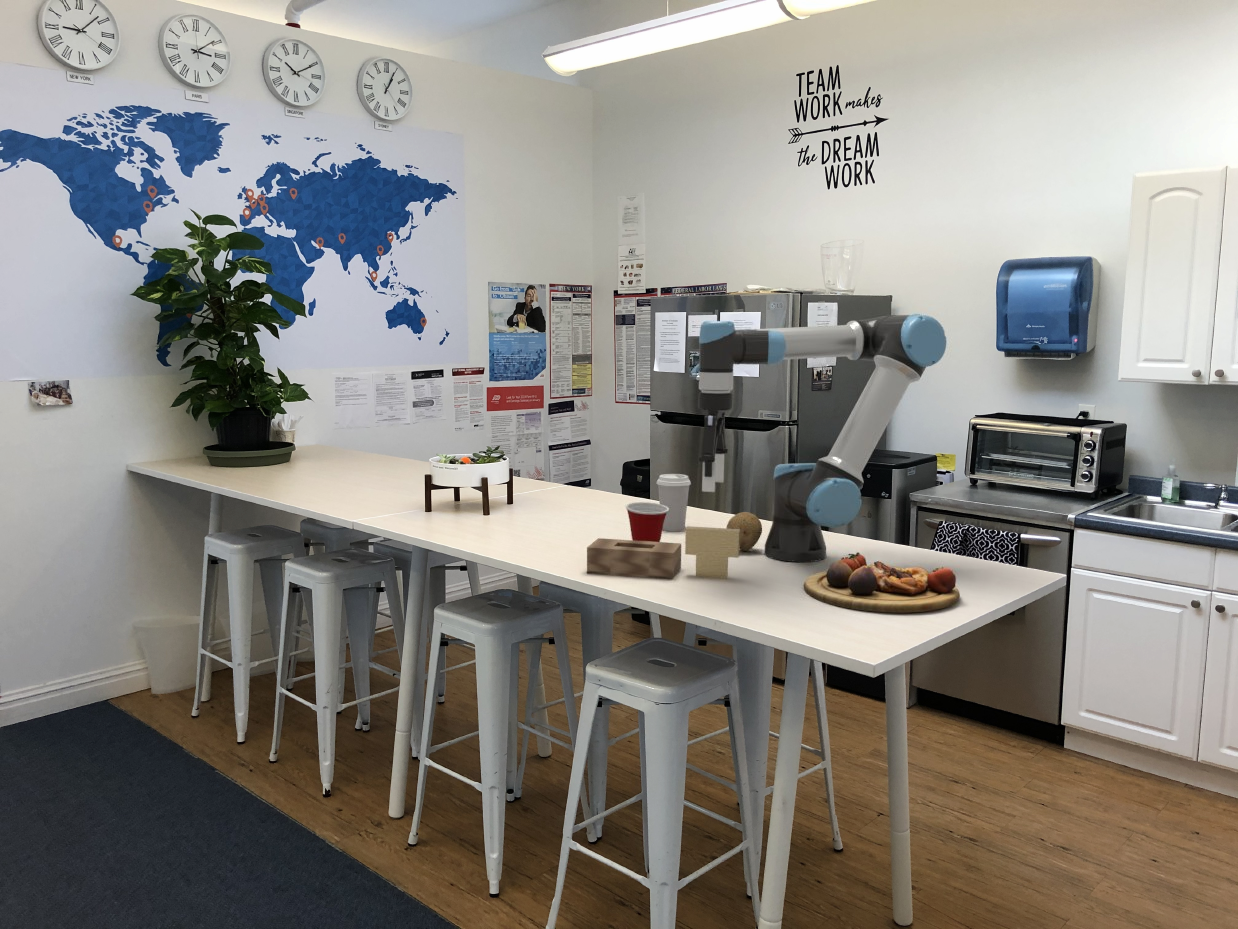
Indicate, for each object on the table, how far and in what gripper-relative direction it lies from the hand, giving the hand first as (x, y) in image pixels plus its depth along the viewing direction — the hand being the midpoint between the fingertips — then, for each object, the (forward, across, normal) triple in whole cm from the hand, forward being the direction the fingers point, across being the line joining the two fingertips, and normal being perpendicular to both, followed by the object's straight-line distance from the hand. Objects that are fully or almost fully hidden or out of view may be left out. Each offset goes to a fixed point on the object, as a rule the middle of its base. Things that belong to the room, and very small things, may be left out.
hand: (713, 486), depth 214 cm
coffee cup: (+21, -48, -18) cm, 55 cm away
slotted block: (+21, 0, -18) cm, 27 cm away
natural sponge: (+21, -27, +4) cm, 34 cm away
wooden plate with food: (+21, +4, +37) cm, 43 cm away
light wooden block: (+21, 0, 0) cm, 21 cm away
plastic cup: (+21, -18, -19) cm, 33 cm away
